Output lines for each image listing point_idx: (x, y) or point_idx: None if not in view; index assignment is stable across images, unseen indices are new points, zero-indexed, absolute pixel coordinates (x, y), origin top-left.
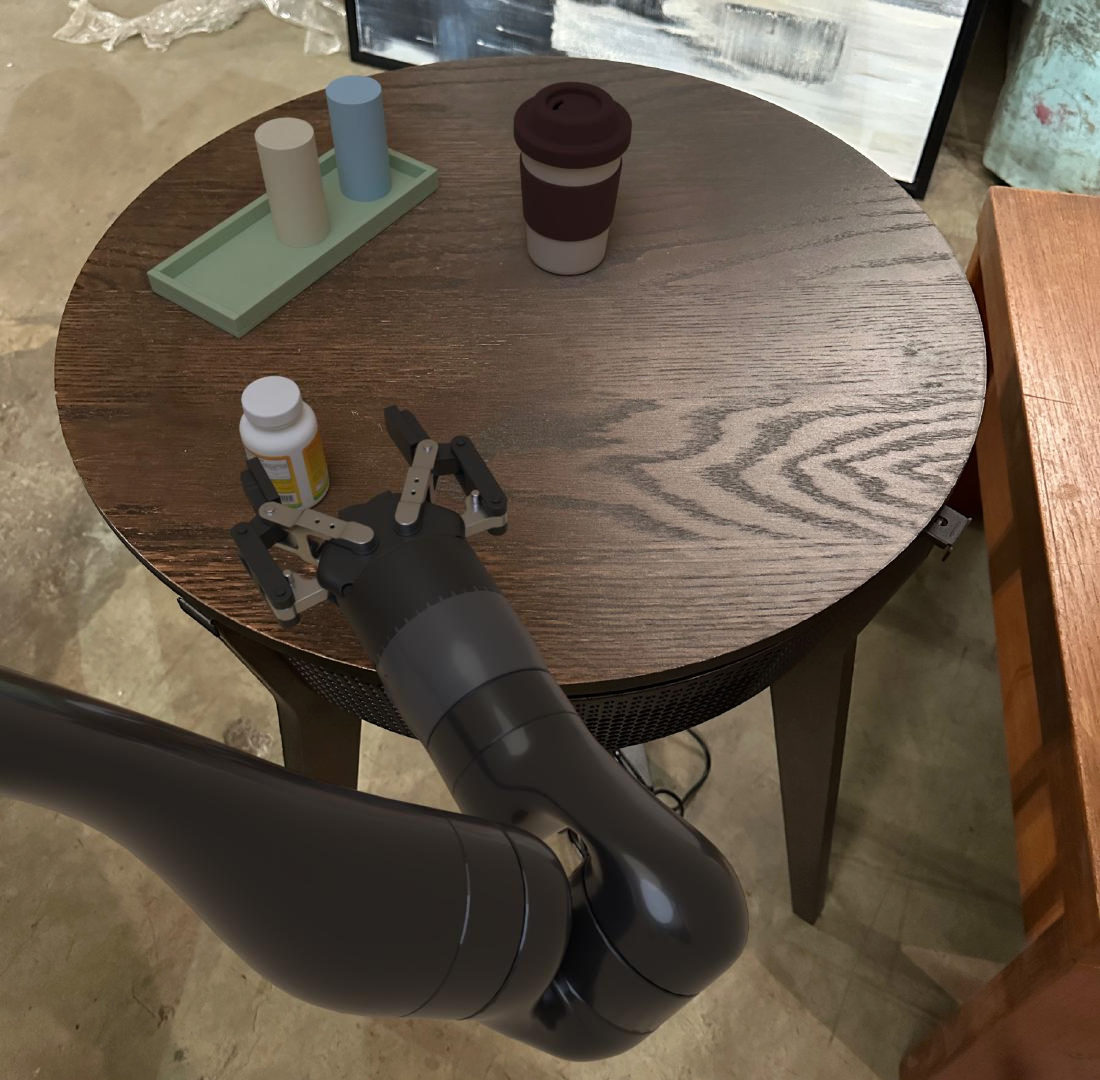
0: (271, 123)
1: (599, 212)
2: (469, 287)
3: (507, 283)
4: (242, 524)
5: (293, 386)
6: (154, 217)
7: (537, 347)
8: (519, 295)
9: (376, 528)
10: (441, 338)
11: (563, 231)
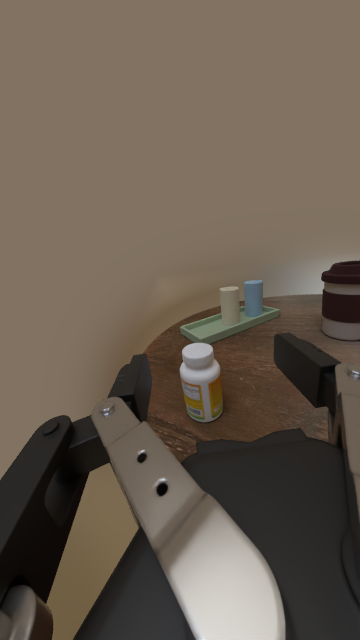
0: (225, 287)
1: None
2: None
3: (315, 341)
4: (62, 419)
5: (210, 347)
6: (189, 319)
7: None
8: (322, 345)
9: (280, 544)
10: None
11: (349, 317)
